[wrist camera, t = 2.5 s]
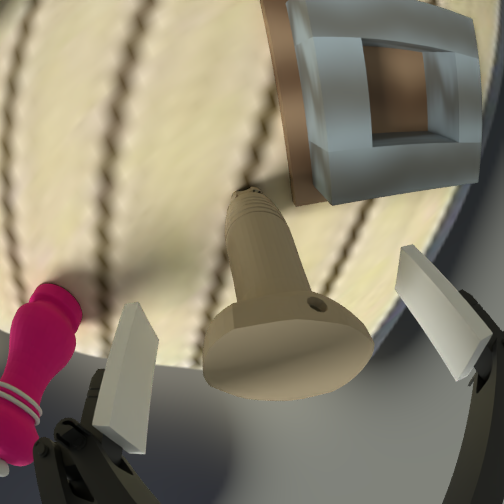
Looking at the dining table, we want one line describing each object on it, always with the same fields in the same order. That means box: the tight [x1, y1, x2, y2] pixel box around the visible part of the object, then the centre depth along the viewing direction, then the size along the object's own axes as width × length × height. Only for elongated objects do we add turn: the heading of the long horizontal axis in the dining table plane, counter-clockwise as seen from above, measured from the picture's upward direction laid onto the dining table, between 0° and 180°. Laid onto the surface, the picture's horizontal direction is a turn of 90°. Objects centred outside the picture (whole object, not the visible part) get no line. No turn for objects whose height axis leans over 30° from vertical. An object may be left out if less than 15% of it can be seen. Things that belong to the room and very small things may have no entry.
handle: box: [203, 187, 374, 401], centre depth 16 cm, size 5×6×15 cm
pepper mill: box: [0, 283, 82, 477], centre depth 17 cm, size 7×7×20 cm
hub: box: [260, 0, 482, 207], centre depth 16 cm, size 17×17×5 cm
